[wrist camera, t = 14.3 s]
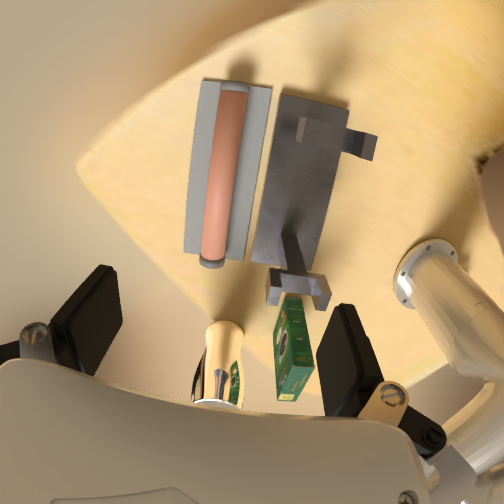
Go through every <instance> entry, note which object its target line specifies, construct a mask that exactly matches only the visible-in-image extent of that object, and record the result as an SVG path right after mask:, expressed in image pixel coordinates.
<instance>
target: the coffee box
mask: <svg viewBox="0 0 504 504" xmlns="http://www.w3.org/2000/svg"><path fill="white" fill-rule="evenodd" d="M273 345H274V360H275V374H276V389H277V400H278V401H296V400H297V399H298V397H299V395H300V393H301V392H302V390H303V388H304V386H305V385H306V383H307V381H308V379H309V378H310V376H311V374H312V372H313V370H314V368H315V365H314V360H313V355H312V350H311V345H310V340H309V334H308V329H307V324H306V319H305V313H304V309H303V304H302V300H301V299H298V298H292V297H285V298H284V302H283V304H282V308H281V311H280V315H279V318H278V321H277V324H276V327H275V330H274V333H273Z"/></svg>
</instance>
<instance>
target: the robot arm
mask: <svg viewBox="0 0 504 504" xmlns="http://www.w3.org/2000/svg"><path fill="white" fill-rule="evenodd" d="M394 292H395V295H396V297H397V299H398V300H399V302H400V303H401V304H402V305H403V306H405V307H407V308H410V309H416V310H417V312H418V313H419V315H420V316H421V318H422V319H423V321H424V322H425V324H426V326H427V327H428V329H429V330H430V332H431V333H432V335H433V337H434V338H435V340H436V342H437V343H438V345H439V347H440V348H441V350H442V352H443V353H444V355H445V357H446V358H447V360H448V362H449V363H450V365H451V367H452V368H453V370H454V371H455V372H456V374H458V375H459V376H460V377H462V378H464V379H467V380H473V381H484V383H485V385H484V387H483V389H482V390H481V391H480V392H479V393H478V394H477V395H476V397H475V398H473V399H472V400H471V401H470V402H469V403H468V404H467V405H466V406H465V407H463V408H462V409H461V410H460V411H459V412H458V413H456V414H455V415H454V416H453V417H451V419H449V420H448V421H447V422H445V423H444V424H443V425H442V426H440V425H438V424H437V423H435V422H434V421H432V420H431V419H429V418H427V417H426V416H424V415H423V414H421V413H419V412H418V411H416V410H415V409H413V408H412V407H410V406H409V405H408V402H409V395H408V393H407V391H406V390H405V388H404V387H403V386H401V385H400V384H399V383H396V382H393V381H384V378H383V375H382V372H381V370H380V367H379V364H378V361H377V359H376V356H375V353H374V350H373V348H372V345H371V343H370V340H369V338H368V337H367V336H366V334H365V331H364V329H363V326H362V324H361V321H360V318H359V316H358V314H357V311H356V309H355V306H354V305H353V304H344V303H341V304H339V306H335V308H334V310H333V313H332V315H331V318H330V320H329V323H328V325H327V328H326V330H325V333H324V335H323V337H322V340H321V342H320V345H319V347H318V349H317V353H316V360H317V366H318V372H319V379H320V385H321V391H322V398H323V404H324V411H325V416H304V415H286V414H273V413H262V412H252V411H244V410H236V409H228V408H221V407H215V406H209V405H203V404H198V403H192V402H187V401H182V400H177V399H173V398H168V397H164V396H160V395H155V394H151V393H147V392H143V391H139V390H136V389H132V388H129V387H125V386H122V385H119V384H115V383H112V382H109V381H106V380H102V379H99V378H96V377H93V376H94V374H95V372H96V371H97V369H98V367H99V365H100V363H101V361H102V359H103V358H104V356H105V354H106V352H107V350H108V349H109V346H110V345H111V343H112V341H113V340H114V338H115V336H116V334H117V333H118V331H119V329H120V327H121V326H122V322H123V318H122V311H121V304H120V297H119V289H118V280H117V273H116V271H114V269H113V267H112V266H106V265H102V264H100V265H99V266H98V267H97V268H96V269H95V270H94V271H93V272H92V273H91V274H90V275H89V277H88V278H87V279H86V280H85V281H84V282H83V283H82V284H81V285H80V286H79V288H78V289H77V290H76V291H75V292H74V293H73V294H72V295H71V296H70V298H69V299H68V300H67V301H66V302H65V304H64V305H63V306H62V307H61V308H60V309H59V311H58V312H57V313H56V314H55V315H54V317H53V318H52V319H51V320H50V321H51V322H50V323H49V325H48V326H47V324H44V323H42V322H34V323H31V324H28V325H27V326H25V327H24V329H22V331H21V333H20V338H19V340H18V341H14V342H11V343H7V344H4V345H0V504H504V461H502V460H503V459H504V312H503V311H502V310H501V309H500V308H499V307H498V305H497V304H496V303H495V302H494V301H493V300H492V299H491V298H490V297H489V295H488V294H487V293H486V292H485V291H484V290H483V289H482V288H481V287H480V286H479V285H478V284H477V283H476V282H475V281H474V280H473V279H472V278H471V277H470V276H469V275H468V274H467V273H466V272H465V271H464V270H463V269H462V268H461V267H460V266H459V260H458V254H457V252H456V250H455V248H454V247H453V246H452V245H451V244H450V243H449V242H447V241H445V240H443V239H429V240H426V241H424V242H421V243H420V244H418V245H417V246H415V247H414V248H413V249H411V250H410V251H409V252H408V253H407V255H406V256H405V257H404V258H403V260H402V261H401V263H400V264H399V266H398V269H397V271H396V274H395V277H394ZM501 461H502V462H501ZM499 462H501V463H499ZM498 463H499V464H498Z"/></svg>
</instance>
